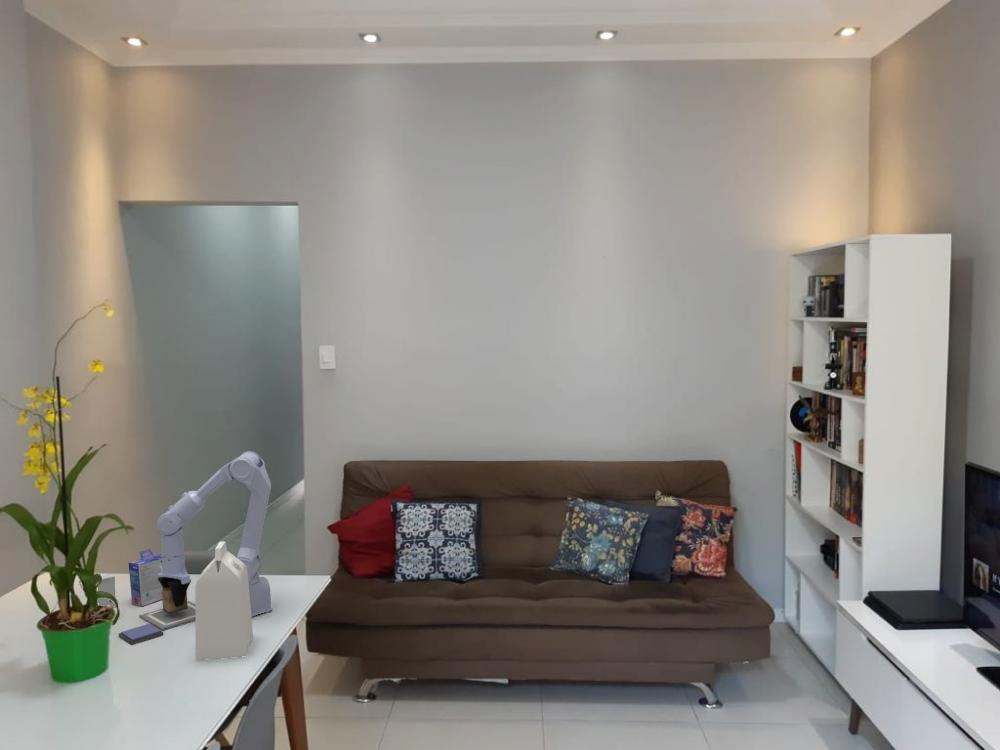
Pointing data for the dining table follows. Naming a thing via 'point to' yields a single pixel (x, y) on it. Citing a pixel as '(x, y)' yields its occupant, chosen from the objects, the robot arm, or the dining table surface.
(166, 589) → the stamp
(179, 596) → the robot arm
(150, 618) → the mat
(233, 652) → the milk
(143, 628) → the ink pad
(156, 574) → the ink cartridge box
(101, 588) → the skincare box
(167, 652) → the dining table surface
